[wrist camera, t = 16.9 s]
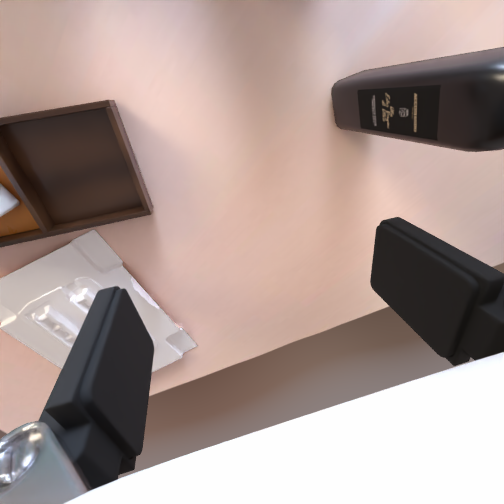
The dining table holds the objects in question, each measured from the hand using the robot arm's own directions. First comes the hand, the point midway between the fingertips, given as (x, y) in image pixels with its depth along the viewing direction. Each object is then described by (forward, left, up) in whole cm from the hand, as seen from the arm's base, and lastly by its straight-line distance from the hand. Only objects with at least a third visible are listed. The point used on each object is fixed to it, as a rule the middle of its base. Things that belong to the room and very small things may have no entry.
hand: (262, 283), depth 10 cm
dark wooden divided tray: (-1, -21, -28) cm, 35 cm away
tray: (+23, -23, -28) cm, 43 cm away
